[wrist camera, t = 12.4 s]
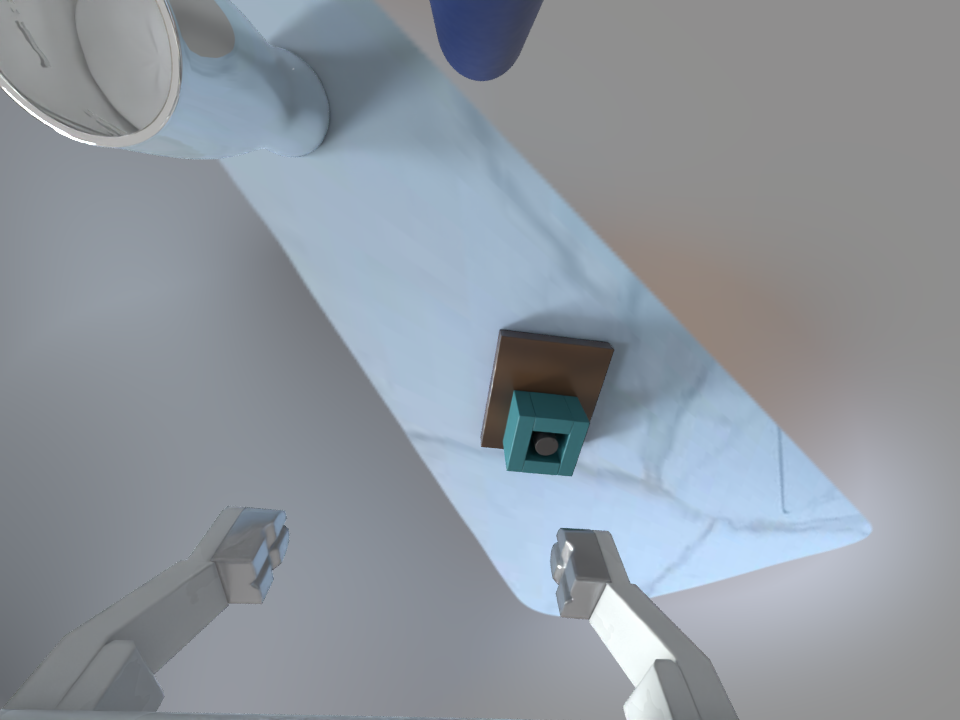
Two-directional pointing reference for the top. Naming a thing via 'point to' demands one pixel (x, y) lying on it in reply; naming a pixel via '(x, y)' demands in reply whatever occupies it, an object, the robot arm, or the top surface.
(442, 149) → the top surface
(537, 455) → the teal hollow square block
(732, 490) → the top surface
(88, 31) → the beer glass
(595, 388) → the base pad
